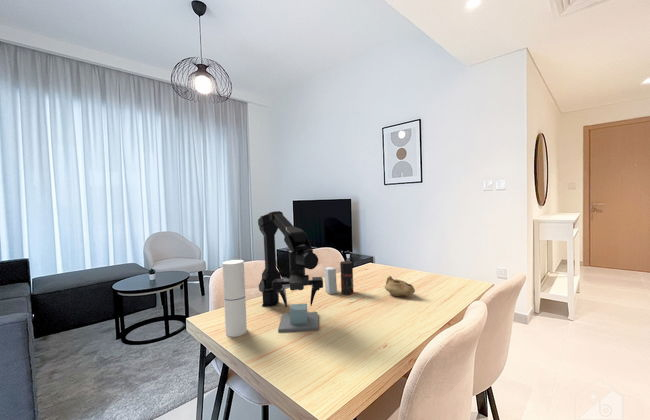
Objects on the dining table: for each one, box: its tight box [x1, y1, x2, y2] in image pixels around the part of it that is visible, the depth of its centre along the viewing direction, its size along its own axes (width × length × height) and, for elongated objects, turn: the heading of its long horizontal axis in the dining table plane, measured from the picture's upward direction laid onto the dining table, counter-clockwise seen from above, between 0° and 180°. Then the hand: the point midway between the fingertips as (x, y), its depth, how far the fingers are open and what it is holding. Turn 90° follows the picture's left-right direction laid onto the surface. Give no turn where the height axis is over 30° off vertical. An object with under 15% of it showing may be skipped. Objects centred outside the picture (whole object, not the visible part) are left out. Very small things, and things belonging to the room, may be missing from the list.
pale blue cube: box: [289, 303, 308, 324], centre depth 107 cm, size 6×6×5 cm
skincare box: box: [323, 266, 338, 295], centre depth 141 cm, size 6×4×12 cm
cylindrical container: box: [221, 259, 248, 338], centre depth 101 cm, size 7×7×25 cm
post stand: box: [277, 311, 319, 333], centre depth 107 cm, size 14×14×5 cm
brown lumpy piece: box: [384, 275, 416, 297], centre depth 134 cm, size 11×15×8 cm
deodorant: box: [340, 260, 354, 296], centre depth 140 cm, size 6×6×15 cm
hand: (298, 306), depth 107 cm, fingers open, 9 cm apart
